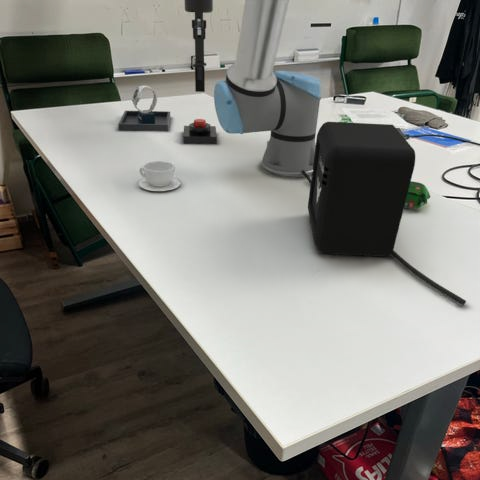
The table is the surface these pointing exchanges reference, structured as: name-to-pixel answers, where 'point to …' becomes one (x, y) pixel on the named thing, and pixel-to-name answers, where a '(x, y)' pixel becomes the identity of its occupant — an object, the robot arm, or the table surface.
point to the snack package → (416, 195)
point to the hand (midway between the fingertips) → (200, 91)
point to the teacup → (158, 176)
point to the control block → (199, 134)
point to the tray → (132, 124)
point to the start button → (199, 122)
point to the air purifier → (359, 188)
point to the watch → (144, 115)
